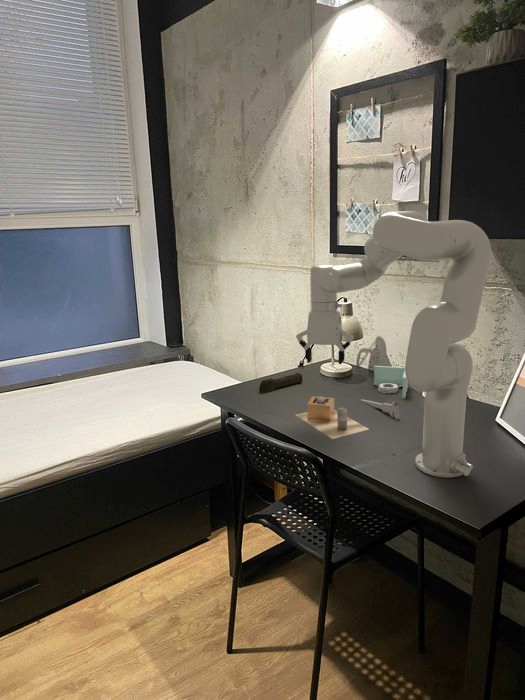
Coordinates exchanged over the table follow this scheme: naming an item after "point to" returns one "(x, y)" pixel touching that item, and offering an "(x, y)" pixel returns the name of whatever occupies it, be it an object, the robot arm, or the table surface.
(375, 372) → the l-shaped corner panel
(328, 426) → the board
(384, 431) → the table surface
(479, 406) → the table surface
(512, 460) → the table surface
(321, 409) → the collar
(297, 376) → the hand tool
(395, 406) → the caliper
